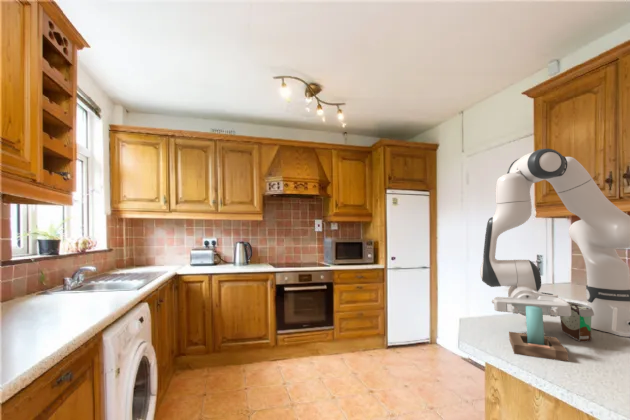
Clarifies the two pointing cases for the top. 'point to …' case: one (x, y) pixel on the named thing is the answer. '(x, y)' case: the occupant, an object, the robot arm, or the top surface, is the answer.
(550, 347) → the hole plate
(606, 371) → the top surface
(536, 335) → the teal peg
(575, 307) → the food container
